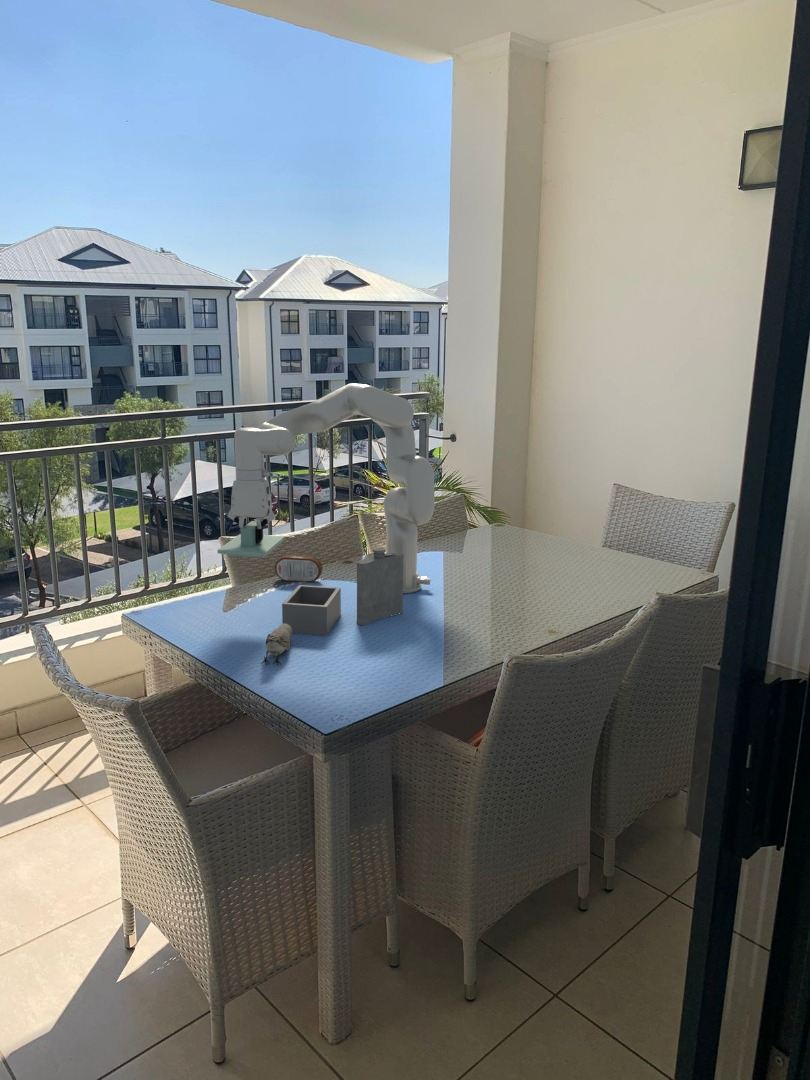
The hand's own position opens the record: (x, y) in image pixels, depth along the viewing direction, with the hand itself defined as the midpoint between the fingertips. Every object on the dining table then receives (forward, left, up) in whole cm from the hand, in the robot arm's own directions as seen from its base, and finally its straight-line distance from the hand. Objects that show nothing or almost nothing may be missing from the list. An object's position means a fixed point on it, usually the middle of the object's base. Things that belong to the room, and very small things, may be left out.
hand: (252, 541), depth 213 cm
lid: (0, 0, -3) cm, 3 cm away
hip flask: (-34, -6, -22) cm, 41 cm away
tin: (-3, -33, -22) cm, 40 cm away
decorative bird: (-14, +24, -22) cm, 35 cm away
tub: (-17, +2, -22) cm, 28 cm away
